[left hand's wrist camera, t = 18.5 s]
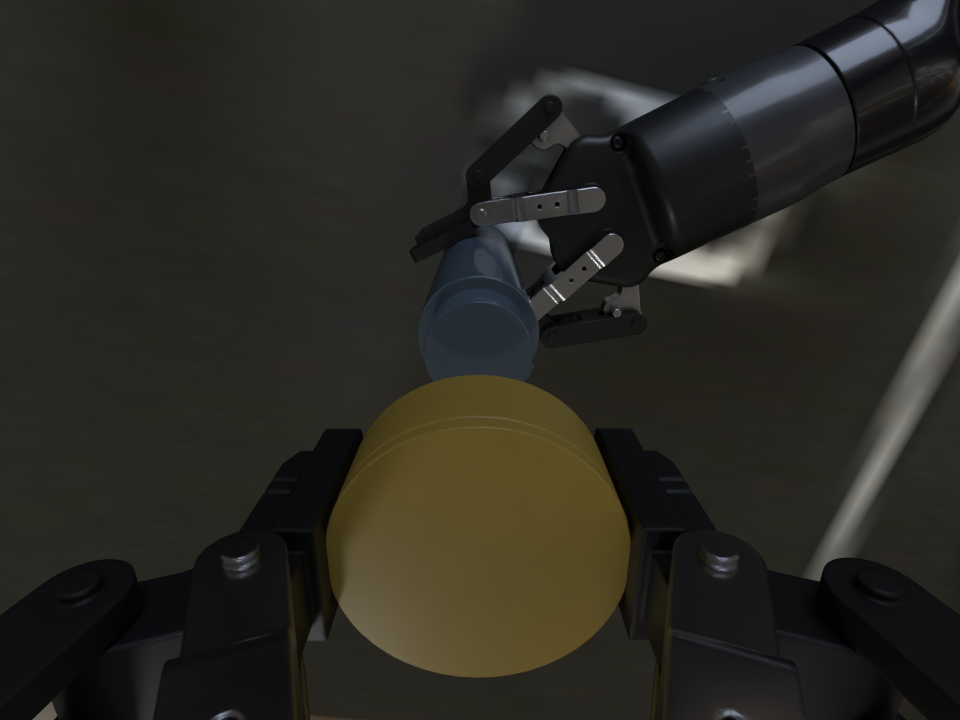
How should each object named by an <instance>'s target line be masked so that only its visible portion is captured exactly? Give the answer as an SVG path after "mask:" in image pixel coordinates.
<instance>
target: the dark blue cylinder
mask: <svg viewBox="0 0 960 720" xmlns="http://www.w3.org/2000/svg"><path fill="white" fill-rule="evenodd" d="M417 340H418V346H419V350H420V353H421V355H422V358H423V360H424V362H425V366H426V369H427V371H428V373H429V376H430V377H431V379H432V381H433V382H435V381H439V380H442V379H446V378H451V377H457V376H464V375H490V376H501V377H506V378H510V379H515V380H519V381H522V382H526V380H527V379H529V377H530V374H531V372H532V369H533V367H534V364H532V361H533V359H534V357H535V354H536V352H537V348H538V344H539V325H538V320H537V317H536V314H535V311H534V309H533V306H532V303H531V301H530V298H529V295H528V293H527V290H526V287H525V284H524V282H523V279H522V276H521V274H520V271H519V268H518V266H517V263H516V260H515V258H514V255H513V252H512V250H511V247H510V244H509V242H508V240H507V238H506V237H505V235H504V234H503V233H502V232H501V231H500V230H499V229H497V228H496V227H494V226H492V225H487V226H481V227H479V228H477V229H476V234H474V235H472V236H470V237H468V238H466V239H464V240H462V241H460V242H458V243H456V244H454V245H452V246H450V247H448V248H446V249H445V251H444V254H443V256H442V259H441V262H440V264H439V267H438V270H437V272H436V275H435V278H434V280H433V283H432V286H431V288H430V291H429V294H428V296H427V299H426V302H425V304H424V307H423V310H422V313H421V315H420V319H419V322H418V329H417Z"/></svg>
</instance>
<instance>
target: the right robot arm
mask: <svg viewBox="0 0 960 720" xmlns="http://www.w3.org/2000/svg"><path fill="white" fill-rule="evenodd" d="M959 107H960V0H879V1H877V2H876V3H874V4H873V5H871V6H870V7H868V8H866V9H864V10H863V11H861V12H859V13H857V14H855V15H853V16H851V17H849V18H847V19H846V20H844V21H842V22H840V23H838V24H836V25H834V26H832V27H830V28H828V29H826V30H824V31H822V32H820V33H818V34H816V35H814V36H812V37H810V38H808V39H806V40H804V41H802V42H800V43H798V44H796V45H794V46H792V47H789V48H787V49H785V50H783V51H780V52H778V53H775V54H772V55H770V56H767V57H764V58H761V59H758V60H755V61H752V62H750V63H747V64H745V65H743V66H740V67H738V68H736V69H734V70H732V71H730V72H728V73H726V74H724V75H722V76H719V77H716V78H712V79H710V80H708V81H706V82H705V83H703V84H702V85H701V86H700V87H698V88H696V89H694V90H692V91H690V92H688V93H686V94H684V95H682V96H681V97H679V98H677V99H675V100H673V101H671V102H669V103H667V104H665V105H663V106H661V107H659V108H657V109H655V110H653V111H651V112H649V113H647V114H645V115H643V116H641V117H639V118H637V119H635V120H633V121H631V122H629V123H627V124H625V125H623V126H621V127H619V128H617V129H615V130H613V131H611V132H609V133H606V134H604V135H583V136H580V134H579V133H578V132H577V130H576V129H575V128H574V126H573V125H572V124H571V123H570V121H569V120H568V119H567V117H566V116H565V115H564V113H563V112H562V103H561V100H560V99H559V98H558V97H557V96H555V95H552V94H549V95H546V96H544V97H543V98H541V99H540V100H539V101H538V102H537V103H536V104H535V105H534V106H533V107H532V108H531V109H530V110H529V111H528V112H527V113H526V114H525V115H524V116H523V117H522V118H520V119H519V120H518V121H517V122H516V123H515V124H514V125H513V126H512V127H511V128H510V129H509V130H508V131H507V132H506V133H505V134H504V135H503V136H502V137H501V138H499V139H498V140H497V141H496V142H495V143H494V144H493V145H492V146H491V147H490V148H489V149H488V150H487V151H486V152H485V153H484V154H483V155H482V156H481V157H480V158H478V159H477V160H476V161H475V162H474V163H473V164H472V165H471V166H470V167H469V168H468V170H467V172H466V180H467V189H468V202H467V204H466V205H465V206H464V207H463V208H462V209H460V210H458V211H456V212H454V213H452V214H450V215H448V216H446V217H444V218H442V219H440V220H438V221H436V222H434V223H432V224H430V225H428V226H426V227H424V228H423V229H422V230H421V231H420V232H419V233H418V235H417V236H416V237H415V240H416V242H417V245H415V246H414V247H412V248H411V250H410V251H409V252H410V254H411V256H412V258H413V260H414V261H415V263H417V262H419V261H421V260H424V259H426V258H428V257H430V256H432V255H434V254H436V253H438V252H440V251H442V250H444V249H446V248H448V247H450V246H452V245H454V244H456V243H458V242H460V241H462V240H464V239H466V238H468V237H470V236H472V235H474V234H476V229H477V228H479V227H481V226H487V225H494V224H501V223H508V222H522V221H530V220H537V222H538V224H539V226H540V228H541V229H542V230H543V231H544V233H545V234H546V235H547V236H548V238H549V243H550V250H551V254H552V256H553V258H554V261H555V262H554V263H553V264H552V265H551V266H550V267H549V268H548V269H547V270H545V271H544V272H543V274H542V275H541V277H540V278H539V279H538V280H537V281H536V282H535V283H534V284H533V285H532V286H531V287H530V288H528V289H527V293H528V295H529V298H530V301H531V303H532V306H533V309H534V311H535V314H536V317H537V320H538V325H539V339H540V340H541V342H542V344H543V345H544V346H545V347H547V348H556V347H563V346H569V345H575V344H581V343H587V342H594V341H600V340H606V339H612V338H618V337H624V336H631V335H637V334H640V333H642V332H643V331H644V330H645V328H646V326H647V321H646V318H645V317H644V316H643V315H642V314H641V311H640V298H639V285H638V284H640V283H641V282H643V281H644V280H645V279H646V277H647V276H648V275H649V274H650V272H651V271H653V270H654V269H655V268H656V267H658V266H659V265H661V264H663V263H666V262H668V261H671V260H673V259H675V258H677V257H680V256H682V255H684V254H686V253H688V252H690V251H693V250H695V249H697V248H699V247H701V246H703V245H706V244H708V243H710V242H712V241H714V240H717V239H719V238H721V237H723V236H725V235H728V234H730V233H732V232H734V231H736V230H739V229H741V228H743V227H745V226H747V225H749V224H752V223H754V222H756V221H758V220H761V219H763V218H765V217H767V216H769V215H771V214H774V213H776V212H778V211H780V210H782V209H784V208H787V207H789V206H791V205H793V204H795V203H797V202H799V201H801V200H802V199H804V198H806V197H807V196H809V195H811V194H812V193H814V192H815V191H817V190H818V189H820V188H822V187H823V186H825V185H827V184H829V183H830V182H832V181H834V180H836V179H838V178H840V177H842V176H844V175H847V174H849V173H851V172H853V171H855V170H857V169H860V168H862V167H864V166H866V165H868V164H871V163H873V162H875V161H877V160H879V159H881V158H884V157H886V156H888V155H891V154H893V153H895V152H897V151H900V150H902V149H904V148H906V147H908V146H910V145H913V144H915V143H917V142H919V141H921V140H923V139H924V138H926V137H928V136H929V135H931V134H933V133H934V132H936V131H938V130H939V129H940V128H941V127H943V126H944V125H945V124H946V123H947V122H948V121H949V120H950V119H951V118H952V117H953V116H954V114H955V113H956V112H957V110H958V109H959ZM530 143H531V144H532V145H533V146H534V147H535V148H537V149H546V148H548V147H550V146H551V145H553V144H558V145H561V146H562V147H563V148H564V150H563V152H562V154H561V156H560V158H559V159H558V161H557V163H556V165H555V167H554V168H553V170H552V172H551V174H550V176H549V177H548V179H547V181H546V183H545V185H544V187H543V188H542V190H537V191H530V192H523V193H516V194H511V195H506V196H500V197H493V198H491V188H490V181H491V180H492V179H493V178H494V177H495V176H496V175H497V174H498V173H499V172H500V171H501V170H502V169H504V168H505V167H506V166H507V165H508V164H509V163H510V162H511V161H512V160H513V159H514V158H515V157H516V156H517V155H519V154H520V153H521V152H522V151H523V150H524V149H525V148H526V147H527V146H528V145H529V144H530ZM570 278H572V280H571V281H569V279H570ZM586 281H591V282H597V283H602V284H608V285H614V286H618V290H617V291H616V293H615V294H613V295H611V296H609V297H606V298H605V299H604V300H603V301H602V303H601V307H600V308H594V309H588V310H582V311H576V312H570V313H564V314H558V315H552V316H550V315H549V314H548V313H547V312H549V311H550V310H551V309H552V308H553V307H554V306H555V305H557V304H558V303H560V302H563V301H564V300H566V299H567V298H568V297H569V296H570V295H572V294H573V293H574V292H575V291H576V290H577V289H578V288H580V287H581V286H582V285H583V284H584V283H585V282H586Z"/></svg>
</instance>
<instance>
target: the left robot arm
mask: <svg viewBox="0 0 960 720" xmlns="http://www.w3.org/2000/svg"><path fill="white" fill-rule="evenodd" d="M362 440H363V434H362V431H361V429H326V430H325V431H324V433H323V434H322V436H321V438H320V440H319V441H318V443H317V445H316V447H315V448H314V450H313V451H300V452H299V453H297V454H296V455H294V456H293V457H292V458H290V459H289V460H287V461H286V462H285V463H283V464H282V466H281V467H280V469H279V470H278V472H277V473H276V475H275V477H274V478H273V481H271V483H270V484H269V486H268V487H267V489H266V491H265V494H263V495H262V497H261V498H260V500H259V501H258V503H257V505H256V506H255V508H254V509H253V511H252V512H251V514H250V515H249V517H248V519H247V520H246V522H245V523H244V525H243V526H242V528H241V529H240V531H239V532H237V533H233V534H230V535H228V536H225V537H223V538H221V539H219V540H217V541H216V542H214V543H212V544H211V545H210V546H208V547H207V548H206V549H205V550H204V551H203V552H202V553H201V554H200V555H199V556H198V558H197V560H196V561H195V564H194V567H193V569H191V570H188V571H185V572H182V573H178V574H174V575H169V576H164V577H160V578H155V579H151V580H146V581H141V582H138V581H137V578H136V574H135V571H134V568H133V567H132V566H131V565H130V564H129V563H127V562H125V561H121V560H115V559H105V560H97V561H92V562H88V563H84V564H81V565H78V566H75V567H73V568H70V569H68V570H66V571H64V572H61V573H59V574H58V575H56V576H54V577H52V578H51V579H49V580H48V581H46V582H45V583H43V584H42V585H41V586H39V587H38V588H36V589H35V590H34V591H32V592H31V593H30V594H28V595H27V596H26V597H24V598H23V599H22V600H20V601H19V602H18V603H16V604H15V605H14V606H12V607H11V608H10V609H8V610H7V611H6V612H4V613H3V614H2V615H0V720H32V719H33V718H34V717H35V716H36V715H37V714H39V713H40V712H41V711H42V710H43V709H44V708H45V707H46V706H47V705H48V704H49V703H50V702H51V701H52V703H53V705H54V708H55V711H56V713H57V717H56V718H55V719H54V720H310V715H309V704H308V694H307V683H306V673H305V665H304V659H303V650H304V647H305V644H306V642H307V641H327V639H328V636H329V632H330V629H331V626H332V623H333V620H334V617H335V613H336V610H337V607H338V602H337V600H336V598H335V596H334V594H333V592H332V589H331V582H330V574H329V565H328V557H327V548H326V530H327V526H328V522H329V519H330V516H331V513H332V510H333V508H334V505H335V503H336V501H337V499H338V496H339V494H340V491H341V489H342V486H343V484H344V482H345V479H346V477H347V475H348V472H349V470H350V467H351V465H352V463H353V460H354V458H355V456H356V453H357V451H358V448H359V446H360V444H361V442H362ZM594 440H595V442H596V444H597V446H598V449H599V451H600V453H601V456H602V458H603V461H604V463H605V466H606V468H607V471H608V473H609V475H610V478H611V480H612V483H613V485H614V488H615V490H616V493H617V495H618V497H619V500H620V502H621V505H622V507H623V510H624V512H625V515H626V517H627V521H628V525H629V529H630V532H631V544H630V554H629V563H628V571H627V580H626V587H625V590H624V593H623V595H622V598H621V600H620V601H619V603H618V604H619V608H620V611H621V614H622V617H623V621H624V624H625V627H626V630H627V634H628V637H629V640H650V643H651V646H652V649H653V652H654V655H655V657H656V665H655V673H654V683H653V694H652V704H651V715H650V720H906V719H905V718H904V717H903V716H902V715H901V714H900V713H899V712H898V710H899V708H900V705H901V702H902V700H903V697H905V698H906V699H907V700H908V701H909V702H910V703H911V704H912V705H913V706H914V707H915V708H916V709H917V710H918V711H919V712H920V713H921V714H923V715H924V716H925V717H926V718H927V719H928V720H960V615H958V614H957V613H956V612H954V611H953V610H952V609H950V608H949V607H948V606H946V605H945V604H944V603H942V602H941V601H940V600H938V599H937V598H936V597H934V596H933V595H932V594H930V593H929V592H928V591H926V590H925V589H923V588H922V587H921V586H919V585H918V584H917V583H915V582H914V581H913V580H911V579H910V578H908V577H907V576H905V575H903V574H901V573H900V572H898V571H896V570H894V569H891V568H889V567H887V566H884V565H882V564H879V563H876V562H872V561H869V560H864V559H858V558H838V559H835V560H832V561H830V562H828V563H827V564H826V565H825V567H824V569H823V572H822V576H821V580H820V582H819V581H814V580H809V579H805V578H800V577H796V576H791V575H787V574H782V573H778V572H774V571H770V570H767V567H766V564H765V561H764V560H763V558H762V556H761V555H760V554H759V553H758V552H757V551H756V550H755V549H754V548H753V547H752V546H750V545H749V544H748V543H746V542H744V541H743V540H741V539H739V538H737V537H735V536H732V535H730V534H727V533H723V532H720V531H717V530H716V528H715V527H714V525H713V524H712V522H711V521H710V519H709V517H708V516H707V514H706V513H705V511H704V510H703V508H702V506H701V505H700V503H699V502H698V500H697V499H696V497H695V495H694V494H693V493H691V489H690V488H689V486H688V484H687V483H686V481H684V480H683V477H682V475H681V473H680V472H679V470H678V469H677V467H676V465H675V464H674V463H673V462H672V461H670V460H669V459H667V458H666V457H665V456H663V455H662V454H660V453H659V452H658V451H644V450H643V448H642V446H641V445H640V443H639V441H638V439H637V438H636V436H635V434H634V432H633V431H632V429H630V428H597V429H596V431H595V434H594Z"/></svg>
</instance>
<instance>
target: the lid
mask: <svg viewBox="0 0 960 720" xmlns="http://www.w3.org/2000/svg"><path fill="white" fill-rule="evenodd" d="M630 544H631V532H630V529H629V525H628V521H627V517H626V515H625V512H624V510H623V507H622V505H621V502H620V500H619V497H618V495H617V493H616V490H615V488H614V485H613V483H612V480H611V478H610V475H609V473H608V471H607V468H606V466H605V463H604V461H603V458H602V456H601V453H600V451H599V449H598V446H597V444H596V442H595V440H594V438H593V436H592V435H591V433H590V431H589V430H588V428H587V427H586V425H585V424H584V423H583V422H582V420H581V419H580V418H579V417H578V416H577V415H576V413H574V412H573V411H572V410H571V409H570V408H569V407H568V406H566V405H565V404H564V403H563V402H562V401H560V400H559V399H557V398H556V397H554V396H553V395H551V394H550V393H548V392H546V391H544V390H542V389H540V388H538V387H535V386H533V385H531V384H528V383H525V382H522V381H519V380H515V379H510V378H506V377H501V376H490V375H464V376H457V377H451V378H446V379H442V380H439V381H435V382H432V383H429V384H426V385H424V386H422V387H420V388H417V389H415V390H413V391H411V392H409V393H408V394H406V395H404V396H403V397H401V398H400V399H398V400H397V401H396V402H394V403H393V404H392V405H391V406H389V407H388V408H387V409H386V410H385V411H384V412H383V413H382V414H381V415H380V416H379V417H378V418H377V419H376V420H375V421H374V423H373V424H372V426H371V427H370V428H369V430H368V431H367V433H366V434H365V436H364V438H363V440H362V442H361V444H360V446H359V448H358V451H357V453H356V456H355V458H354V460H353V463H352V465H351V467H350V470H349V472H348V475H347V477H346V479H345V482H344V484H343V486H342V489H341V491H340V494H339V496H338V499H337V501H336V503H335V505H334V508H333V510H332V513H331V516H330V519H329V522H328V526H327V530H326V548H327V557H328V565H329V574H330V582H331V589H332V592H333V594H334V596H335V598H336V600H337V602H338V604H339V606H340V608H341V609H342V611H343V612H344V613H345V615H346V616H347V618H348V619H349V620H350V622H351V623H352V624H353V625H354V626H355V627H356V628H357V629H358V630H359V631H360V633H361V634H363V635H364V636H365V637H366V638H367V639H368V640H370V641H371V642H372V643H373V644H374V645H376V646H377V647H379V648H380V649H382V650H383V651H385V652H387V653H388V654H390V655H392V656H394V657H396V658H398V659H400V660H401V661H403V662H406V663H408V664H411V665H413V666H416V667H419V668H421V669H425V670H429V671H432V672H436V673H440V674H446V675H452V676H460V677H497V676H504V675H512V674H516V673H521V672H525V671H529V670H532V669H535V668H538V667H541V666H544V665H547V664H549V663H551V662H553V661H555V660H557V659H560V658H562V657H564V656H565V655H567V654H569V653H570V652H572V651H573V650H575V649H577V648H578V647H579V646H581V645H582V644H583V643H585V642H586V641H587V640H589V639H590V638H591V637H592V636H593V635H594V634H595V633H596V632H597V631H598V630H599V629H600V628H601V627H602V626H603V625H604V624H605V622H606V621H607V620H608V619H609V617H610V616H611V615H612V613H613V612H614V610H615V608H616V607H617V605H618V603H619V601H620V600H621V598H622V595H623V593H624V590H625V587H626V580H627V571H628V563H629V554H630Z"/></svg>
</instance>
